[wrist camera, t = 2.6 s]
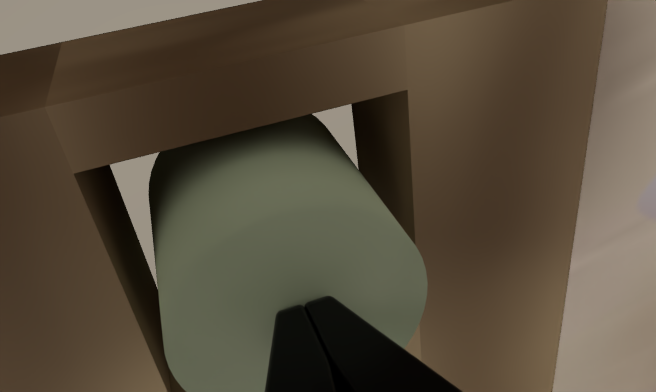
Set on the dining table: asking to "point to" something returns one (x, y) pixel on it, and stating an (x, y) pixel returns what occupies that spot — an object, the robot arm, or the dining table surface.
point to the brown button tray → (286, 103)
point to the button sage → (270, 249)
